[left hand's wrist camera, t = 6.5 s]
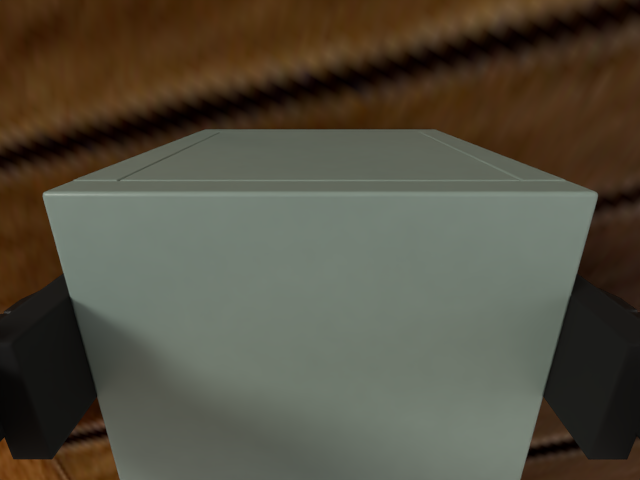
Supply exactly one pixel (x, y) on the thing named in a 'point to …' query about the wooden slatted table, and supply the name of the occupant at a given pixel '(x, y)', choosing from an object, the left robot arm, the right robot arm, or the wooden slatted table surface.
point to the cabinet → (320, 303)
